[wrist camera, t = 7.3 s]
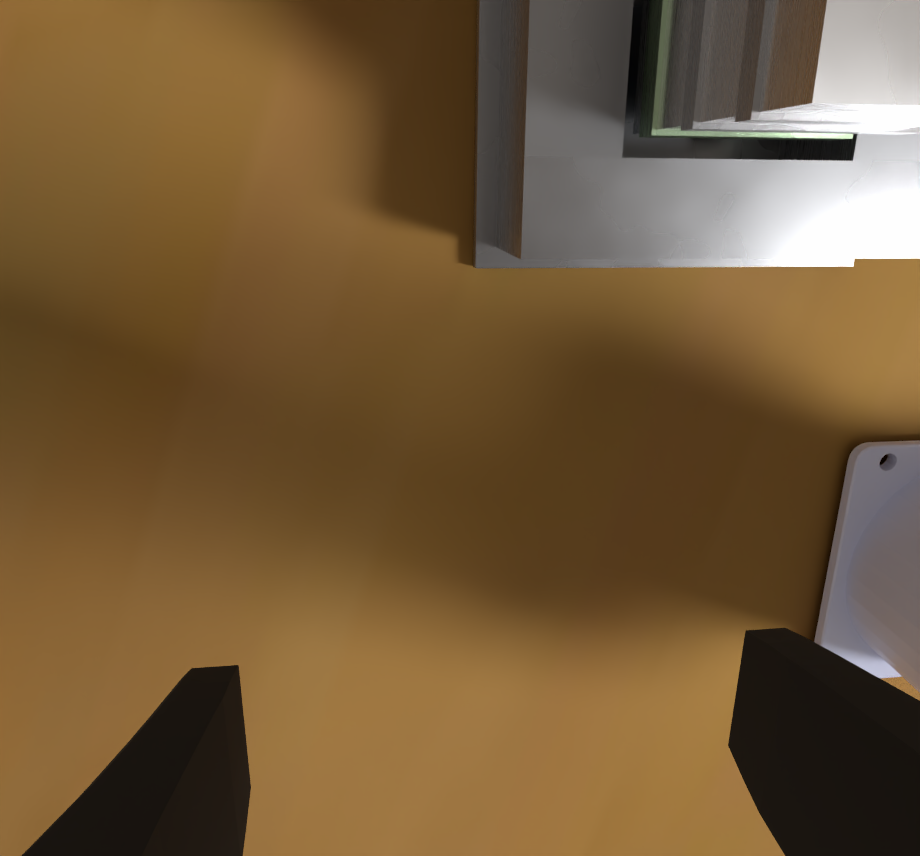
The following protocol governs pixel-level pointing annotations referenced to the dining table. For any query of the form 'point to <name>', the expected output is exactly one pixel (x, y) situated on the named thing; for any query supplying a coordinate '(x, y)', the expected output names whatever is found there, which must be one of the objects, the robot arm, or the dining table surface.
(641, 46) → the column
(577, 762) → the dining table surface
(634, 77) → the stand base
